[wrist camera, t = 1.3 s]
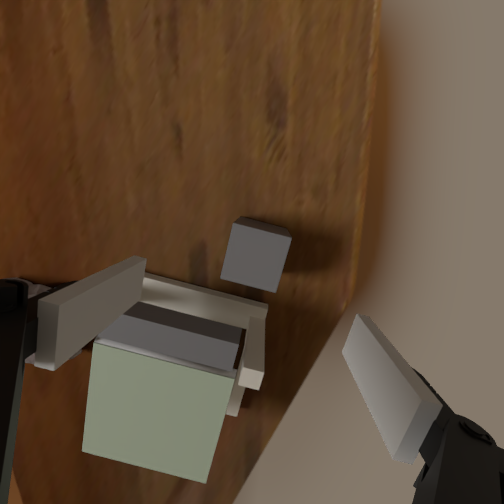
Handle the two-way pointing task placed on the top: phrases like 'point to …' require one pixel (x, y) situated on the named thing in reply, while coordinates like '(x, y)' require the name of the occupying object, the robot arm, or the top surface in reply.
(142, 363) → the trapdoor
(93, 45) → the top surface
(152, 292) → the stand
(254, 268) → the basalt block
